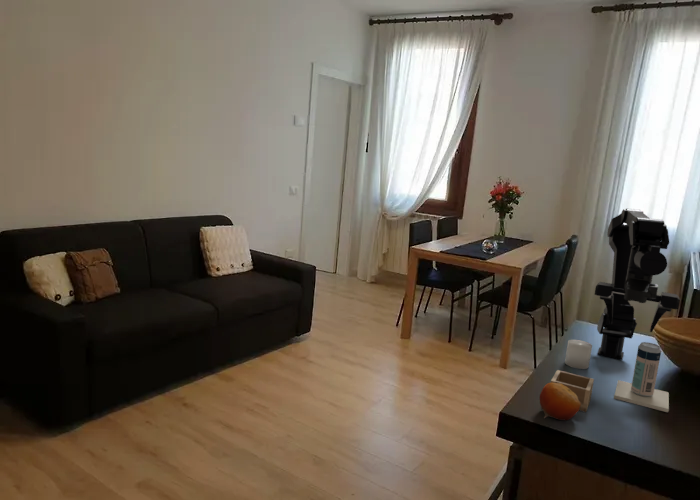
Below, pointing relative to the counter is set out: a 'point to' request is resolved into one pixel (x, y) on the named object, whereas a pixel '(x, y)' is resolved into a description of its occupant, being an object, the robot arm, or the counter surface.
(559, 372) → the oak box
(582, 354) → the white rounded cylinder
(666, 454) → the counter surface
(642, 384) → the beer can
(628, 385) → the plate
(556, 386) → the fruit
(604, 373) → the counter surface
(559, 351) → the counter surface
